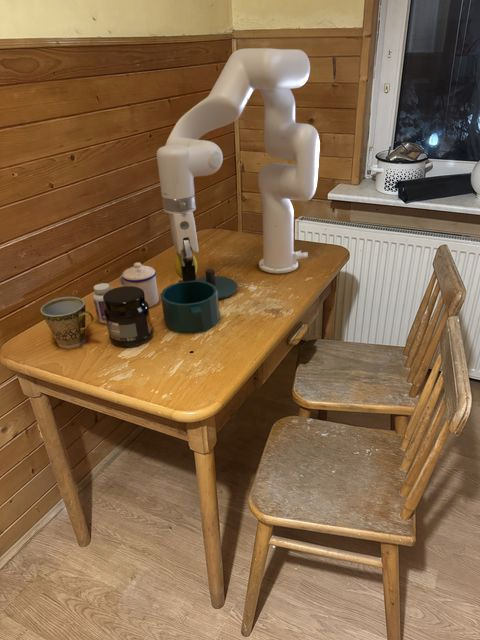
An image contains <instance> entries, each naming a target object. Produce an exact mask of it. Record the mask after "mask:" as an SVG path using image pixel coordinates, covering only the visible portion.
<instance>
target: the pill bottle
mask: <svg viewBox="0 0 480 640" xmlns="http://www.w3.org/2000/svg"><path fill="white" fill-rule="evenodd" d="M109 290H111V287H110V284H109V283H105V282H101V283H98V284H95V285H94V286H93V292H94V294H93V295H92V296H93V297H92V300H93V305H94V308H95V313H96V317H97V320H98V322H99V323H101V324H106V325H107V322H106V318H105V315H104V307H105V305H104V300H103V296H104V294H105V293H106V292H108V291H109Z"/></svg>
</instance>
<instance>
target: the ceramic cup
mask: <svg viewBox="0 0 480 640" xmlns="http://www.w3.org/2000/svg"><path fill="white" fill-rule="evenodd" d="M40 313H41V315H42V317H43V319H44V322H45V323H46V325H47V326H48V328H49V329H50V331H51V333H52V336H53V337H54V339H55V342H56V343H57V345H58V347H59V348H62V349H67V350H71V349H75V348H79V347H81V346H82V345H84V344H85V343H86V342H87V332H86V331H87V328H88V327H89V326H90V325H92V324H93V322H94V320H95V319H94V316H93V314H92V313H91V312H90V311H86V301H85V300H84V299H83V298H81V297H78V296H63V297H57V298H55V299H52V300H49V301H47V302H46V303H44V304H43V305H42V306H41V308H40ZM86 316H88V317H89V318H90V322H89V323H87V324H86V318H87V317H86Z"/></svg>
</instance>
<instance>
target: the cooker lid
mask: <svg viewBox="0 0 480 640" xmlns="http://www.w3.org/2000/svg"><path fill="white" fill-rule="evenodd" d="M204 273H205V276H203V277H202V276H201V277H198V278H196V280H194V281H203V282H208V283H210V284H212V285H214V286H215V287H216V289H217V291H218V300H221V299H225V298H228V297H230V296H232V295H233V294H235V293H236V292H237V290H238V282H236V281H235V280H234V279H232V278H230V277H226V276H221V275H216V273H215V269H214V268H207V269H205V272H204Z"/></svg>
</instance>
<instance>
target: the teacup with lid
mask: <svg viewBox="0 0 480 640" xmlns="http://www.w3.org/2000/svg"><path fill="white" fill-rule="evenodd" d="M156 274H157V272H156V270H155V268H153V267H151V266H148V265H144V264H142V263H141V262H134V263H133V266H131V267H129V268H127V269H125V270H124V271H123V272H122V273H121V275H120V276H119V277H118V278H119V279H118V282H119V285H120V287H123V286H135V287H139V288H141V289H142V290H143V291H144V294H145V300H146V301H147V303H148V306H149V308H152V307H154V306H156V305H157V304H158V303H159V301H160V296H159V290H158V283H157V276H156Z"/></svg>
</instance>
